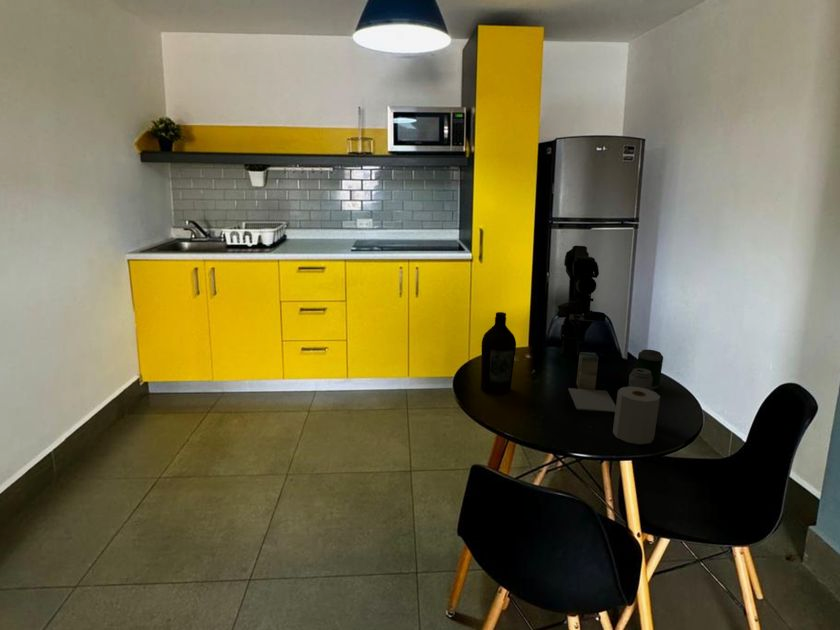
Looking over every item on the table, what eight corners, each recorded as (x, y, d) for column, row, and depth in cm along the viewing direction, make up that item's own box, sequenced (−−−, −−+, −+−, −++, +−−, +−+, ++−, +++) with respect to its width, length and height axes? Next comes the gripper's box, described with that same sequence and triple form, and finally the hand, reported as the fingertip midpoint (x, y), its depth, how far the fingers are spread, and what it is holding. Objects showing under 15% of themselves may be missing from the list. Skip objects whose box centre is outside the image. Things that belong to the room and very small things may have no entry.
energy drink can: (641, 427, 158) (649, 376, 154) (620, 420, 162) (627, 370, 158) (649, 420, 162) (656, 371, 159) (628, 414, 166) (635, 365, 162)
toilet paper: (605, 428, 157) (610, 387, 153) (639, 426, 159) (644, 385, 156) (626, 446, 147) (632, 402, 144) (661, 443, 149) (668, 399, 146)
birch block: (576, 383, 189) (579, 352, 186) (591, 384, 189) (595, 352, 186) (579, 389, 184) (582, 356, 182) (594, 390, 184) (598, 357, 181)
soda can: (662, 391, 185) (667, 356, 182) (638, 390, 185) (643, 355, 182) (653, 383, 192) (658, 349, 189) (631, 382, 192) (635, 348, 189)
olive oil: (475, 383, 186) (480, 309, 180) (507, 383, 187) (512, 309, 181) (483, 396, 176) (488, 317, 169) (516, 395, 177) (523, 317, 171)
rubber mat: (568, 389, 184) (568, 388, 184) (606, 391, 183) (606, 390, 183) (576, 409, 168) (577, 408, 168) (618, 412, 167) (618, 411, 167)
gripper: (546, 292, 200) (542, 337, 201) (581, 293, 183) (577, 342, 183) (572, 294, 204) (568, 338, 205) (608, 296, 187) (604, 343, 188)
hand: (578, 340), depth 195 cm, fingers closed
